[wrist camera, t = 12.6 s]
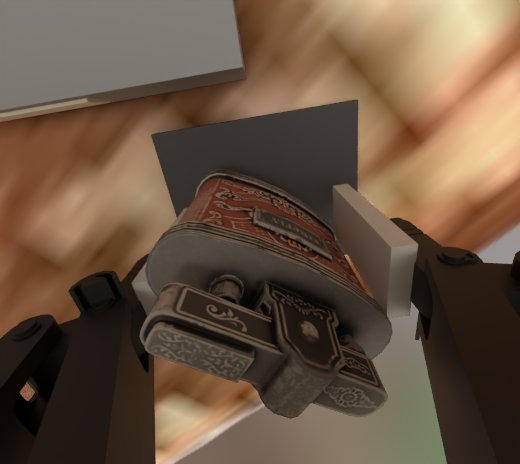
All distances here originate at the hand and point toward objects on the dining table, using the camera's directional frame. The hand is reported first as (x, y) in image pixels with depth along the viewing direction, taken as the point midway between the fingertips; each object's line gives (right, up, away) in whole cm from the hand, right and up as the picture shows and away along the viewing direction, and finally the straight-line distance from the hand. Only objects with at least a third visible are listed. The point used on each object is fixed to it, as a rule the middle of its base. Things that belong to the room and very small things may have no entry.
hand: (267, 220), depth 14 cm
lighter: (0, 0, +1) cm, 1 cm away
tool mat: (0, +2, +4) cm, 4 cm away
